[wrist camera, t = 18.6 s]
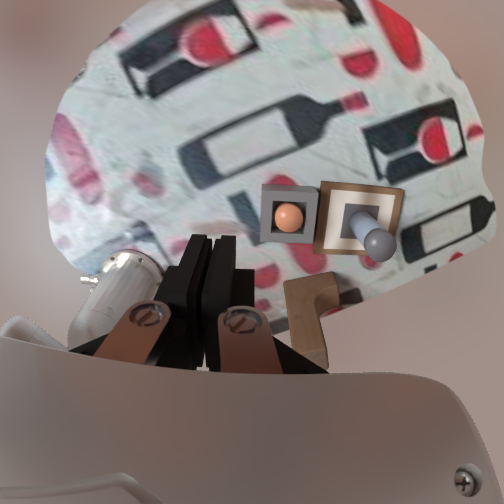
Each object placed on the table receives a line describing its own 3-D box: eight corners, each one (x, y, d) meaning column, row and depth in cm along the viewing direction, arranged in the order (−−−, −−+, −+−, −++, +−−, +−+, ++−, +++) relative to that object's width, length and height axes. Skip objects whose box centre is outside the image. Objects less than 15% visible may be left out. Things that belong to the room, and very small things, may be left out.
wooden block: (332, 270, 52) (360, 341, 36) (334, 290, 54) (360, 362, 38) (282, 280, 53) (292, 355, 37) (287, 300, 55) (297, 376, 39)
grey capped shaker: (345, 231, 48) (364, 259, 39) (352, 207, 46) (373, 230, 37) (368, 236, 48) (390, 264, 39) (375, 212, 46) (400, 236, 37)
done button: (273, 225, 47) (274, 231, 45) (275, 200, 45) (276, 205, 43) (299, 226, 47) (301, 232, 45) (301, 201, 45) (304, 207, 43)
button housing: (259, 232, 49) (260, 241, 46) (261, 183, 46) (262, 190, 43) (308, 234, 49) (312, 243, 46) (314, 186, 46) (318, 193, 43)
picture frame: (312, 250, 51) (314, 254, 50) (320, 180, 45) (322, 182, 44) (387, 253, 51) (390, 256, 50) (401, 188, 45) (404, 190, 44)
